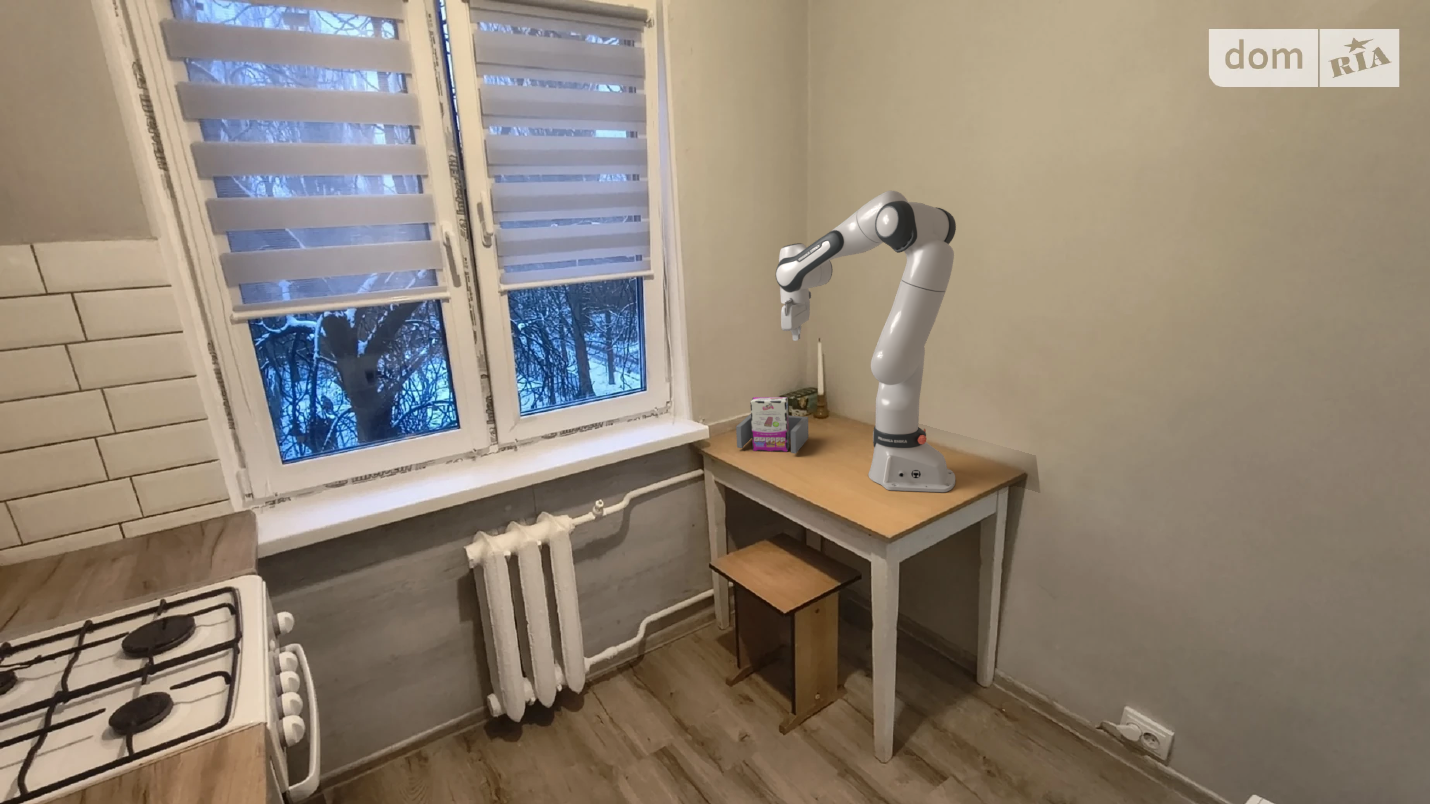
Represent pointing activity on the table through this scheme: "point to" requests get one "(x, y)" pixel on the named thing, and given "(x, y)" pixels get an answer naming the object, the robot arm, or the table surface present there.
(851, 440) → the table surface
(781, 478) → the table surface
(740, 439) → the gray u-shaped holder
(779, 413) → the candy bar box
